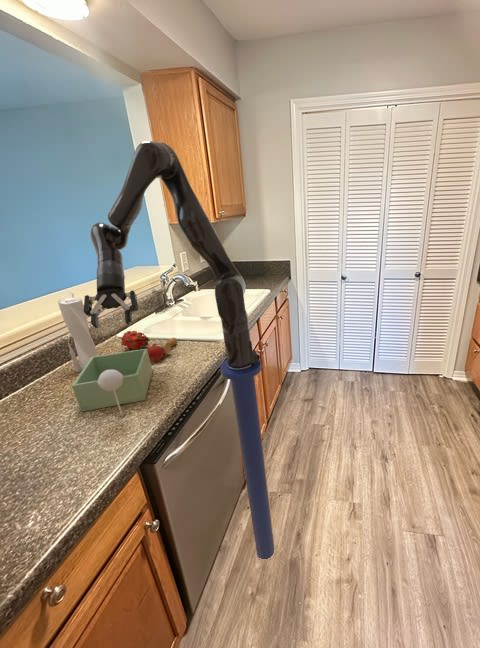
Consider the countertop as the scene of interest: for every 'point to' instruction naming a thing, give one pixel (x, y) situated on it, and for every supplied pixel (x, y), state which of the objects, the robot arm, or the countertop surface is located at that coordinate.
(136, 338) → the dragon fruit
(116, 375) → the lollipop
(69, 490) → the countertop surface
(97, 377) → the bin
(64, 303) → the skyscraper
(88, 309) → the robot arm
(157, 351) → the kendama
